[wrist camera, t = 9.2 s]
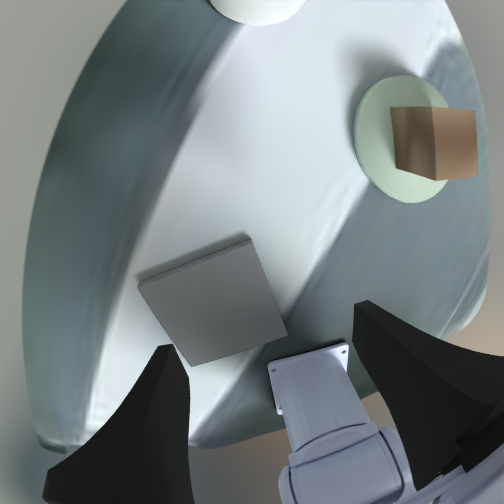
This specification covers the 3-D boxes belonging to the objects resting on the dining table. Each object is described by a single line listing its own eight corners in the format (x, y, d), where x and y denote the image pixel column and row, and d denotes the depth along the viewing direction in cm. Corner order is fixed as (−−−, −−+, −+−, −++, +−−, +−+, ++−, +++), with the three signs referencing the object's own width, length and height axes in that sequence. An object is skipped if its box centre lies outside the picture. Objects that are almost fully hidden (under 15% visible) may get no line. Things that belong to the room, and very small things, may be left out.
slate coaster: (286, 329, 24) (288, 335, 23) (191, 360, 24) (191, 367, 23) (250, 238, 20) (252, 243, 19) (139, 282, 20) (137, 287, 19)
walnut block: (437, 164, 18) (477, 176, 14) (395, 168, 18) (435, 181, 14) (433, 108, 16) (474, 111, 12) (389, 107, 16) (431, 106, 12)
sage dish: (448, 192, 20) (457, 195, 19) (358, 207, 20) (366, 211, 19) (441, 82, 16) (451, 82, 15) (343, 73, 16) (351, 70, 15)
